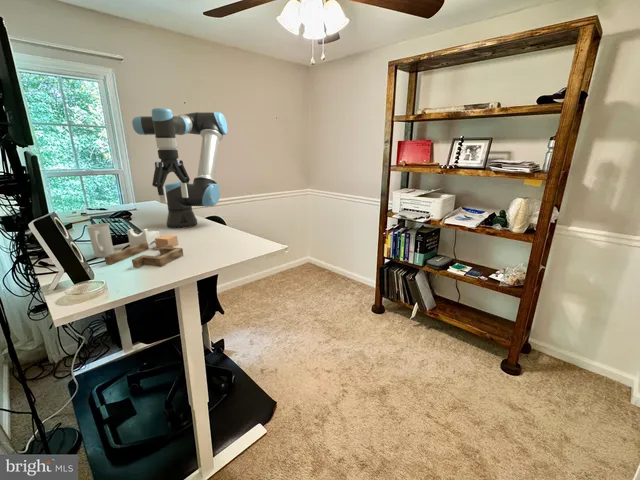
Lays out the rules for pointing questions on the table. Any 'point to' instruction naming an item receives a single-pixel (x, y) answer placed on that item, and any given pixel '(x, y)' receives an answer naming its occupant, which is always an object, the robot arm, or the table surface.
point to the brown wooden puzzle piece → (166, 251)
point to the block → (166, 240)
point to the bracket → (142, 237)
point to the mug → (101, 239)
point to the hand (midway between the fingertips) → (175, 200)
